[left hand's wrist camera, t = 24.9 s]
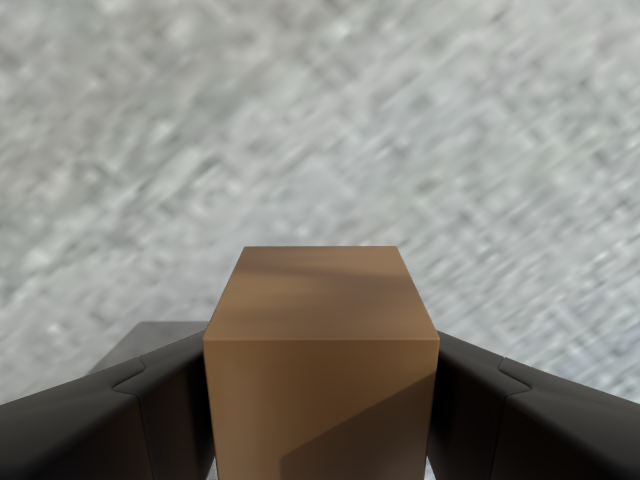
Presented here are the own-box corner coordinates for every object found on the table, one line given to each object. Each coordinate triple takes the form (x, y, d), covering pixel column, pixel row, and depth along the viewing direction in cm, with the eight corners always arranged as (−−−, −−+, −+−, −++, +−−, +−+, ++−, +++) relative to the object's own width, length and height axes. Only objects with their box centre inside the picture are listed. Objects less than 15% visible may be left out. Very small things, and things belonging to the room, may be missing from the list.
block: (253, 375, 13) (221, 514, 9) (243, 245, 12) (200, 338, 7) (388, 375, 13) (420, 514, 9) (396, 245, 12) (441, 338, 7)
